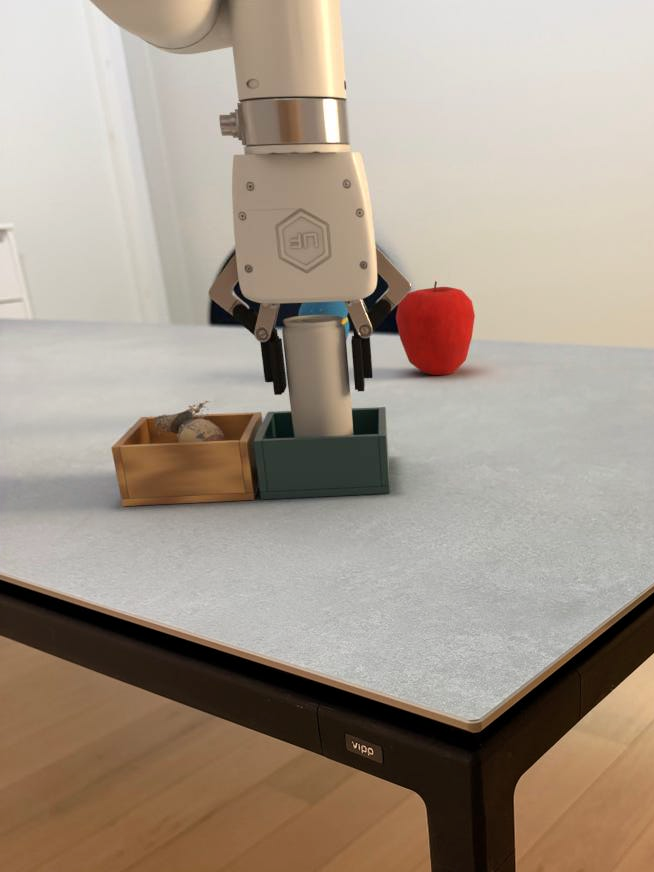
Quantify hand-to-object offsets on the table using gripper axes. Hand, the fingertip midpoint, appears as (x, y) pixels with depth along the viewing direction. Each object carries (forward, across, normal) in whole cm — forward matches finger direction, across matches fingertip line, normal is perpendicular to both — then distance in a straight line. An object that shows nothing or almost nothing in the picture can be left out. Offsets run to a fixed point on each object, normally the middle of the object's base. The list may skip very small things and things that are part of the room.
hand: (320, 387), depth 75 cm
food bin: (+7, -10, 0) cm, 13 cm away
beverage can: (+7, 0, 0) cm, 7 cm away
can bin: (+7, 0, 0) cm, 7 cm away
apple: (+8, +12, +44) cm, 47 cm away
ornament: (+8, 0, +22) cm, 24 cm away
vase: (+4, -11, +2) cm, 12 cm away
